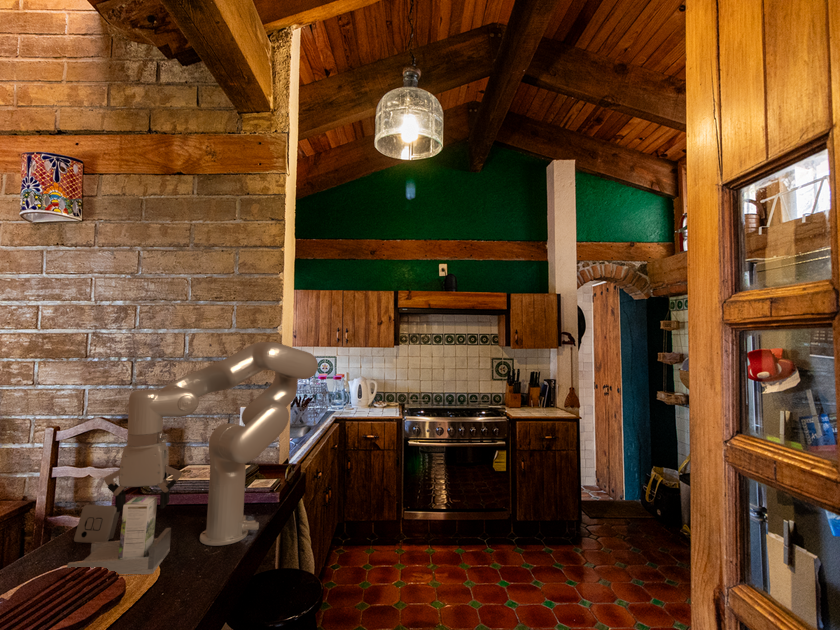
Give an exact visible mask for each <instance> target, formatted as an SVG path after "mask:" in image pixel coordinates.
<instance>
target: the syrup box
mask: <svg viewBox="0 0 840 630" xmlns="http://www.w3.org/2000/svg"><path fill="white" fill-rule="evenodd" d="M157 504H158V496H152V495H151V496H149V495H143V496H134V497H132V498H131V499H130V500H129V501H127V502H125V504H124V505H123V510H122V515H121V527H120V537H119V541H120V545H119V556H118V559H124V558H138V557H149V547H150V546H151V545H152V544H153V542H154V539H155V529H156V517H157V508H158V507H157V506H158V505H157Z"/></svg>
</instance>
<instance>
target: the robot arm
mask: <svg viewBox="0 0 840 630" xmlns="http://www.w3.org/2000/svg"><path fill="white" fill-rule="evenodd" d="M318 370H319V363H318V360H317V358H316V356H315V355H314V354H312V353H310V352H308V351H306V350H301V349H298V348H295V347H292V346H288V345H286V344H284V343H283V344H282V343H279V342H275V341H259V342H256V343H253V344H251V345H249V346H247V347H246V348H243V349H241V350H239V351H238V352H236V353H234V354H231V355H230V356H228V357H226V358H225V359H222V360H220V361H217V362H215V363H213V364H210V365H208V366H206V367H203V368H201V369H198V370H196V371H192V372H190V373H188V374H186V375H183V376H182V377H180V378H178V379H176V380H174V381H173V382H171V383H168V384H166V385H165V386H164V387H162V388H161V389H160V390H159V389H141V390H135V391H132V392H131V393H130V394H129V396H128V416H127V417H128V418H127V436H126V438H127V439H126V440H127V442H126V443H127V444H126V445H125V446H124V447H123V450H122V455H121V459H120V463H119V469H117V470H116V471H114V472H112V473H110V474H108V475H106V476H105V477H104V478H103V481H104V483H105V484H106V486H107V488H108V490H109V491H111V493H112V494H113V496H115V501H114V506H115V508H117V512H120V513H121V511H123V505H124V504H126V498H127V497H126V496H127V495H126V494H127V492H126V491H125V489H126V488H138V487H139V488H140V487H141V488H142V487H153V486H157V487H159V489H160V490H161V492H160V498H159V509H160V510H163V509H165V508H166V506H167V505H169V502H170V494H171V493H170V491H171V489H172V488H173V487H174V486H175V485H176V484H177V483H178V481H179V480H180V477H181V476H182V473H183V472H182V471H180V470H178V469H176V468H174V467H172V466H169V455H168V447H167V443H166V442H164V441H165V440H168V439H169V433H164V430H163V428H164V427H163V426H164V425H163V423H164V421H163V420H164V418H166V417H167V418H182V417H187V416H189V415H191V414H193V413H194V412H196V410H197V409H198V407H199V405H200V399H199V398H200V397H202V396H204V395H205V396H206V395H207V394H210V393H214V392H220V391H227V390H229V389H233V388H235V387H237V386H239V385H240V384H242V383H245V381H247V380H249V379H251V378H252V377H253V376H256V375H257V374H260V373H261V372H263V371H273V372H274V378H273V381H272V383H271V384H270V385H269V386H268V387H267V388H266V389H265V390H264V391H263V392H262V393H261V394H259V395H258V396H257V397H256V398H255V399H254V400H252V401H251V402H250V403H249V404H248V405H246V407H245V408H244V409H243V411H242V413H241V421H242V423H243V425H240V424H237V423H233V422H231V423H223V424H220V425H219V426H217V427H216V428H214V429H213V431H212V432H211V434H210V437H209V440H208V455H209V456H208V457H209V483H208V497H207V513H206V514H207V515H206V529H205V530H204V531H202V532H201V533H200V535H199V541H200V543H202V544H204V545H206V546H215V547H216V546H218V547H219V546H226V545H231V544H235V543H238V542H240V541H242V540H243V539H245V538H246V537H247V536H248V535H249V531H250V530H251V531H257V530H259V528H260V523H259V521H257V522H256V520H254V519H253V520H248V519H246V515H244V510H245V509H244V508H245V507H244V506H245V490H246V489H245V488H246V473H247V472H246V471H247V469H246V463H249V462H252V461H254V459H256V458H257V457H258V456H260V455H261V454H262V453H263V452H264V451H265V450H266V449H267V448H268V447H269V446H270V445H271V444H272V443H273V442H274V441H275V440H276V439H277V438H278V437H279V436H281V434H282V433H283V432H284V431H285V429H286V427H287V425H288V423H289V419H290V412H289V409H288V406H289V405H290V404H291V403H292V402H293V400H294V399H295V398H296V396H297V391H298V382H299V381H298V380H308V379H310V378H312V377H314V376H315V374H316V373H317V372H318ZM169 475H171V476H173V477H172V478H171V481H170V482H169V481H168V480H167V479H168V477H169ZM117 477H118V484H117V483H116V482H115V480H114V479H115V478H117Z"/></svg>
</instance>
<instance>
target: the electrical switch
mask: <svg viewBox="0 0 840 630" xmlns="http://www.w3.org/2000/svg"><path fill="white" fill-rule="evenodd" d="M80 513H81V514H80V517H79V520H78V524H77V528H76V531H75V534H74V538H73V540H74V542H76V543H87V544H92V543H93V542H107V541H109V540H111V539H114V536H115V532H116V529H117V523H118V521H119V516H120V513H121V511H120V512H117V508H115V505H101V504H99V505H98V504H85V505H84V506H83V507H82V511H81V512H80Z"/></svg>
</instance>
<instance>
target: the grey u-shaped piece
mask: <svg viewBox="0 0 840 630" xmlns="http://www.w3.org/2000/svg"><path fill="white" fill-rule="evenodd" d="M171 533H172V527H165V529H164V530H163V531H162V532H161V533H160V534H159V536H158V537H157V538H155V537H154V542H153V544H152V545H151V546H150V547H149V557H138V558H124V559H118V556H119V545H120V540H110V541H109V540H108V541H107V542H93V543H90V545H91V546H90V554H89V555H87V557H85V558H84V559H83V560H82V561H71V562H70V561H69V562H68V563H67V565H66V569H67V568H71V567H75V568H77V567H91V568H94V567H104V568H107V569H108V570H109V571H115V572H117V573H118V574H141V575H151V574H154V572H155V571H156V570H157V569H158V567H159V566H160V565H161V563H163V560H164V559H165V558H166V557H167V556H168V554H169V552H171V535H172V534H171Z"/></svg>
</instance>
